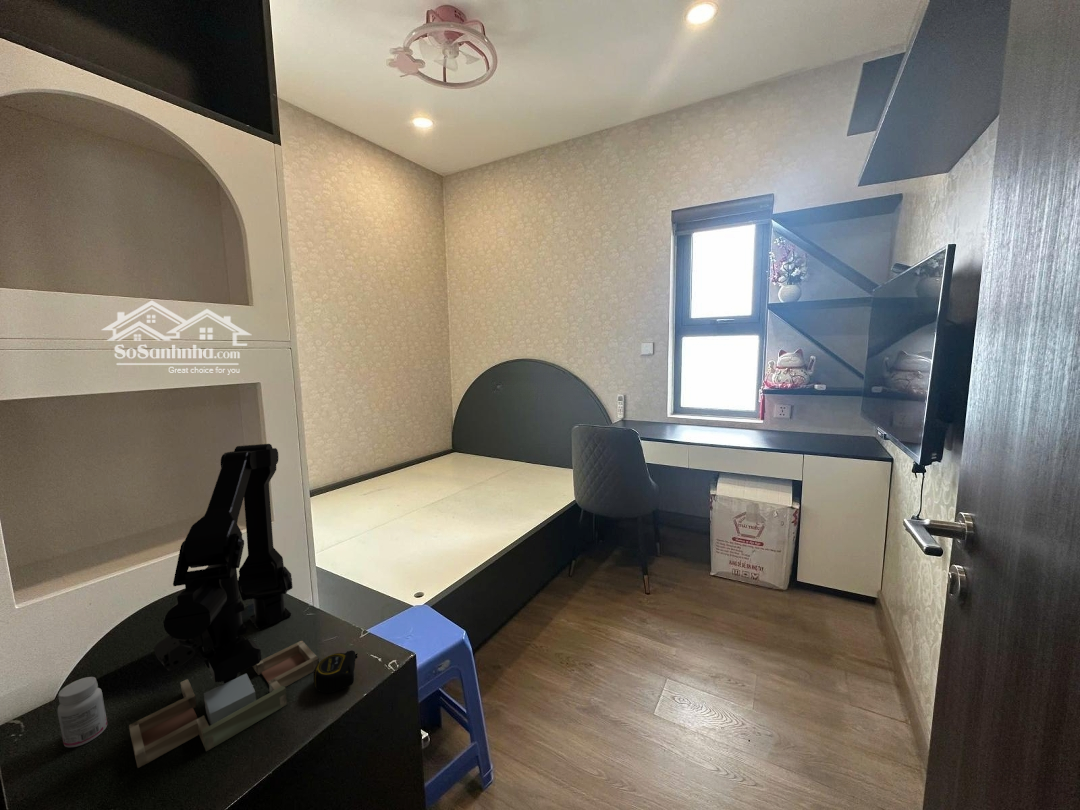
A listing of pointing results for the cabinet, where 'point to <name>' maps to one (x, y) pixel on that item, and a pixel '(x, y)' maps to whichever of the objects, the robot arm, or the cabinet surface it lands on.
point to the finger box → (182, 723)
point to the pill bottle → (81, 712)
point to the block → (228, 698)
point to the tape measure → (335, 672)
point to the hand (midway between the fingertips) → (229, 685)
